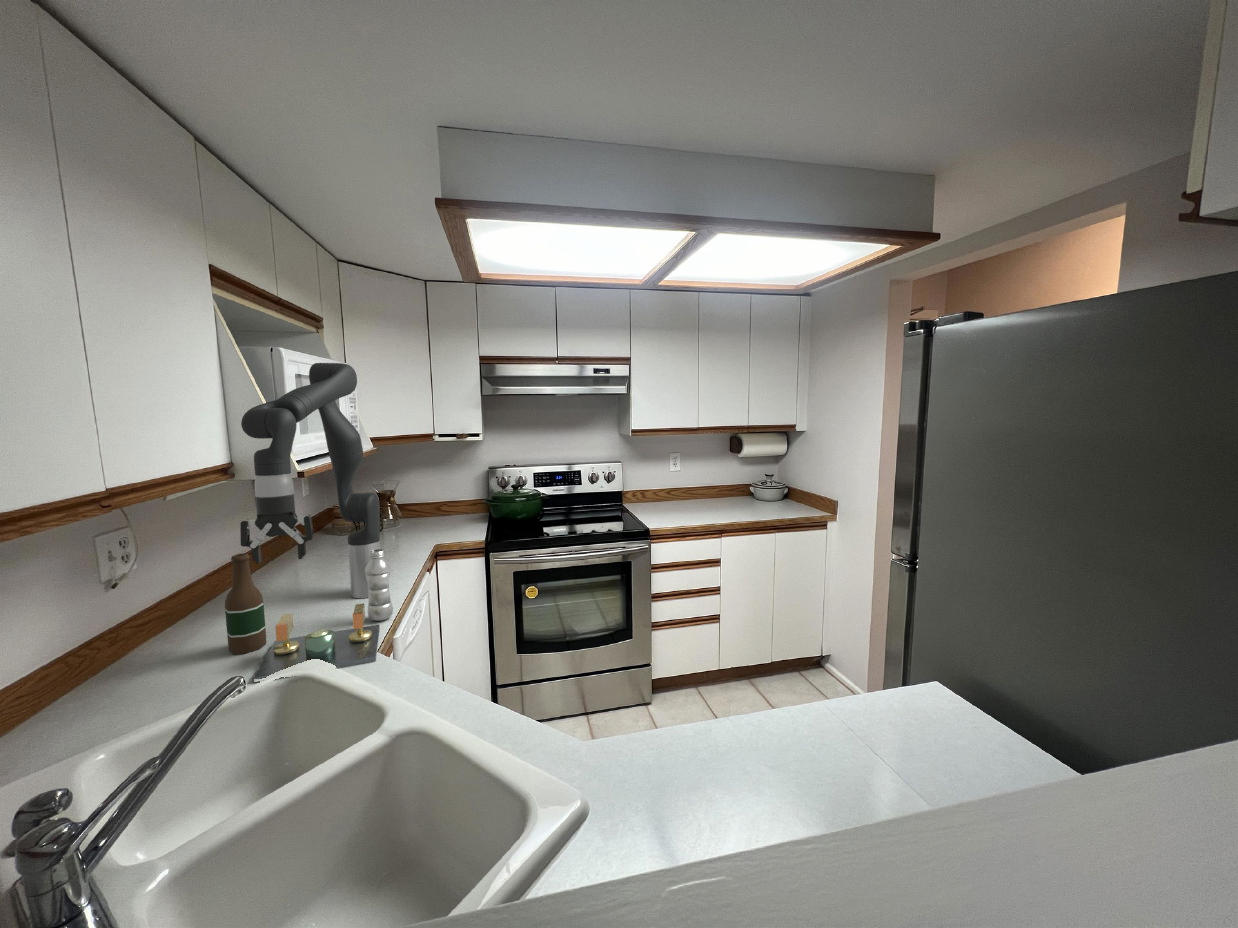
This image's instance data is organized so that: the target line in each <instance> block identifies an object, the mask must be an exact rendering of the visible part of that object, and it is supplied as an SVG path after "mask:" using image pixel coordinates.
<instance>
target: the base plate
mask: <svg viewBox="0 0 1238 928" xmlns="http://www.w3.org/2000/svg"><path fill="white" fill-rule="evenodd" d="M380 627H381V626H380V624H374V625H367V626H363V630H371V631H372V637H371V638H370V639H368V640H365V641H362V642H350V641H349V635H350V634H351V633H353V632H355V631H357V629H354V628H347V629H342V630H332V629H325V628H324V629H323V628H322V629H317V630H314V631H312V632H310V633H308V634H306V635H302V636H296V637H289V640H290V641H297V642H299V649H298V650H296V651H294V652H292V653H289V654H284V655H276V654H274V649H273V648H274V647H275V646H276V645H278V644H281V643H283V641H277V640H276V639H275V640H274V641H273V643H272V645H271V646H270V649H269V651H268V652H267V653H266V656H265V657H264V659H263V661H262V662H261V664H260V665H259V667H258V669H257V671H256V673H255V675H254V676H253V680H254V679H262V678H266V677H267V676H269V675H271V674H274V673H275V672H278V671H280V670H283V669H286V668H288V667H291V666H293V665H296V664H298V663H302V662H304V661H307V660H311V659H320V660H323V661H325V662H328V663H331V664H333V665H335V666H336V667H341V668H346V667H350V666H357V665H362V664H367V663H372V662H377V653H378V645H379V637H380Z"/></svg>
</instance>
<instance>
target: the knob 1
mask: <svg viewBox="0 0 1238 928" xmlns="http://www.w3.org/2000/svg"><path fill="white" fill-rule="evenodd" d="M293 615H294V614H293V613H291V612H290V613H285V614H282V615H281V617H280V618H279V620H278V622H277V623H276V625H275V627H274V628H275V638H276V639H275V641H276V640H277V641H283V643H281V644H278V645H276V646H275V647H274V648H273V649H274V654H276V655H284V654H289V653H292V652H294V651H296V650H298V649H299V642H297V641H290V640H289V638H290V635H291V633H292V631H293V629H294V617H293Z"/></svg>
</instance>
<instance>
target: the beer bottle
mask: <svg viewBox="0 0 1238 928" xmlns="http://www.w3.org/2000/svg"><path fill="white" fill-rule="evenodd" d="M249 559H251V557H250V555H249V554H248V553H237V554H235V555H232V556H231V558H230V561H232V585H231V589H230V590H229V591H228V593H227V595H226V599H225V600H224V601H225V602H224V613H225V625H226V634H227V645H228V650H229V652H230V653H231V652H232V653H231V654H233V655H247V654H250V653H253V652H256V651H259V650H261V649H262V648H264V647H265V646H266V644H267V629H266V628H267V627H266V619H265V616H266V615H265V605H264V598H263V595H262V592H260V589H258V587H256V586H255V585H254V581H253V579H252V572H251V567H250V561H249ZM249 652H250V653H249Z"/></svg>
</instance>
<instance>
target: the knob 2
mask: <svg viewBox="0 0 1238 928" xmlns="http://www.w3.org/2000/svg"><path fill="white" fill-rule="evenodd" d="M365 618H366V609H365V603H364V602H363V603H357V604H355V605H354V610H353V613H352V626H353V628H354V629H357V631H355V632H353V633H351V634H350V635H349V641H350V642H362V641H365V640H368V639H370V638H371V637H372V631H371V630H363V627H364V623H365ZM353 628H352V629H353Z"/></svg>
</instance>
